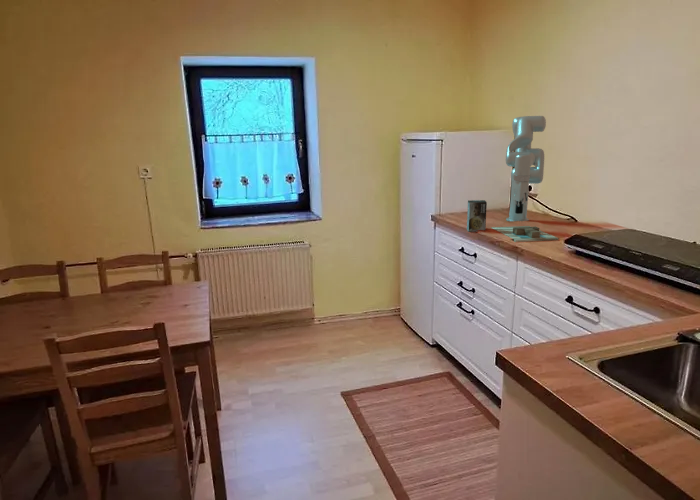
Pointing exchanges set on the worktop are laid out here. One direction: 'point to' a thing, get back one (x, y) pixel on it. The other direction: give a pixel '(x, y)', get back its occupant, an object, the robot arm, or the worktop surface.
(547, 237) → the board
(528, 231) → the t block
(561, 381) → the worktop surface
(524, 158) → the robot arm
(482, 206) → the coffee box
